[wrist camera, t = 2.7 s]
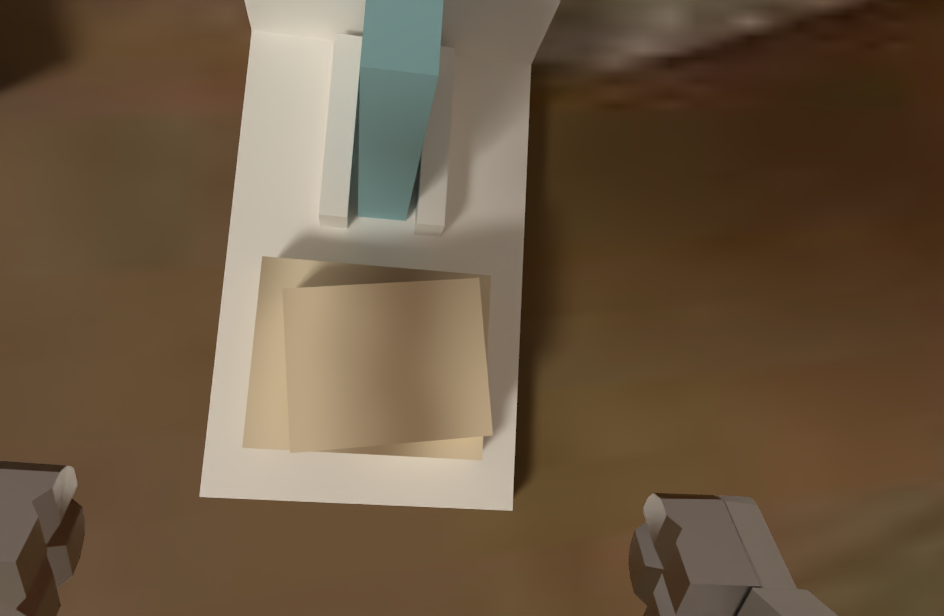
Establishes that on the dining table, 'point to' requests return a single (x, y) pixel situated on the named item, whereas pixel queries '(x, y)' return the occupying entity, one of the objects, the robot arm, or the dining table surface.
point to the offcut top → (385, 364)
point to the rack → (376, 228)
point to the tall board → (395, 100)
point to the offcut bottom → (269, 361)
